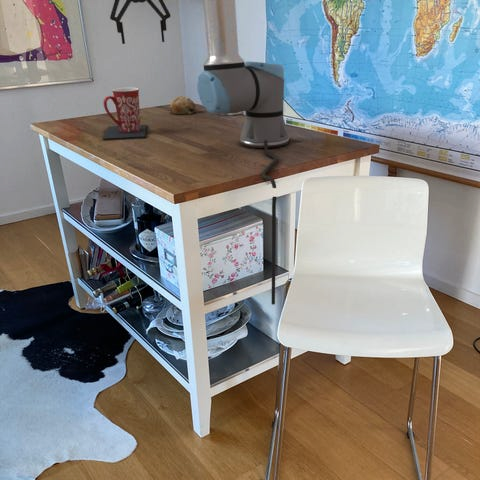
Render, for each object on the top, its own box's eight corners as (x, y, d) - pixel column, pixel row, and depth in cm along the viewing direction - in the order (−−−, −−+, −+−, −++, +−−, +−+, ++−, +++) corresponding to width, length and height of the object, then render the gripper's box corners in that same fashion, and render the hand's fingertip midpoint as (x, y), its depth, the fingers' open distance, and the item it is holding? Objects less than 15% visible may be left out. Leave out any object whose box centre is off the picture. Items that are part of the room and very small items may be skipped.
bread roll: (181, 124, 210) (187, 106, 205) (163, 111, 212) (168, 92, 207) (196, 120, 217) (202, 102, 212) (178, 107, 219) (183, 89, 214)
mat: (145, 138, 175) (145, 136, 174) (103, 140, 173) (102, 138, 173) (146, 126, 192) (146, 124, 191) (108, 128, 190) (108, 126, 190)
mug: (139, 126, 188) (134, 86, 181) (147, 131, 181) (142, 89, 174) (104, 131, 183) (98, 89, 176) (111, 135, 176) (105, 93, 169)
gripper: (173, -31, 174) (179, 41, 183) (97, -28, 171) (108, 44, 181) (173, -34, 167) (179, 41, 177) (95, -31, 165) (105, 44, 174)
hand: (143, 43), depth 179 cm, fingers open, 13 cm apart
